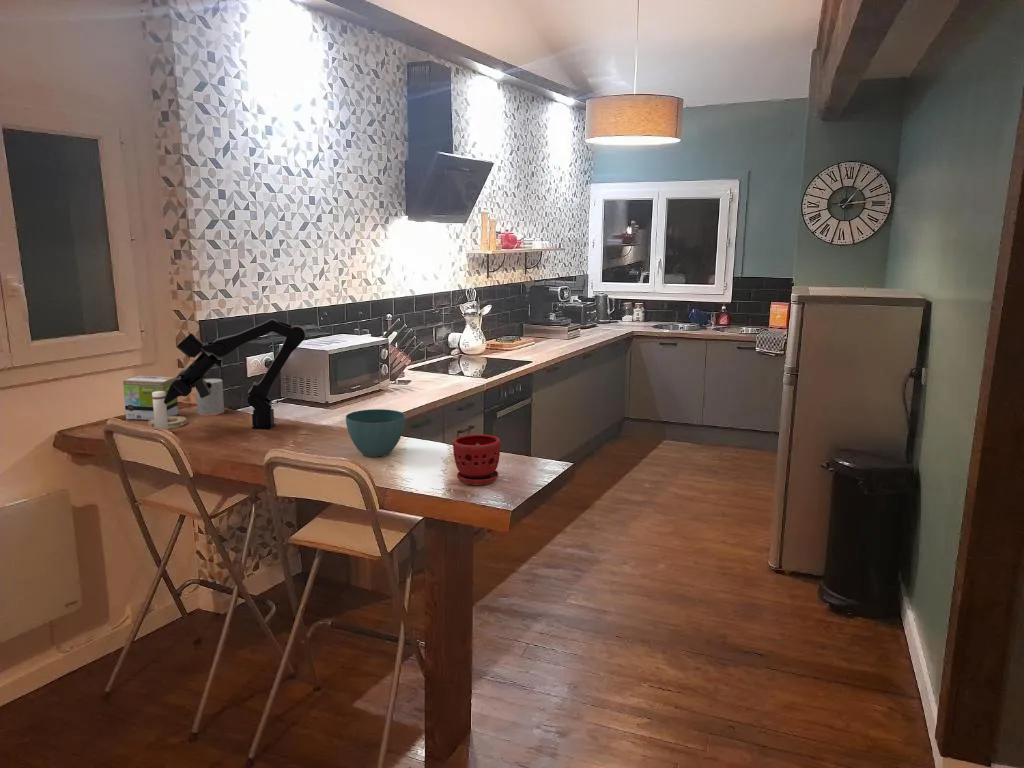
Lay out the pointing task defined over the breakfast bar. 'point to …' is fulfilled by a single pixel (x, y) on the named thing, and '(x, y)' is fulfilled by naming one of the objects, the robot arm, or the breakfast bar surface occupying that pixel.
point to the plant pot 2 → (477, 458)
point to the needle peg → (160, 409)
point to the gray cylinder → (211, 398)
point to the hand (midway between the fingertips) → (166, 400)
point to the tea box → (146, 396)
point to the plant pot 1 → (375, 430)
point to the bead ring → (172, 421)
